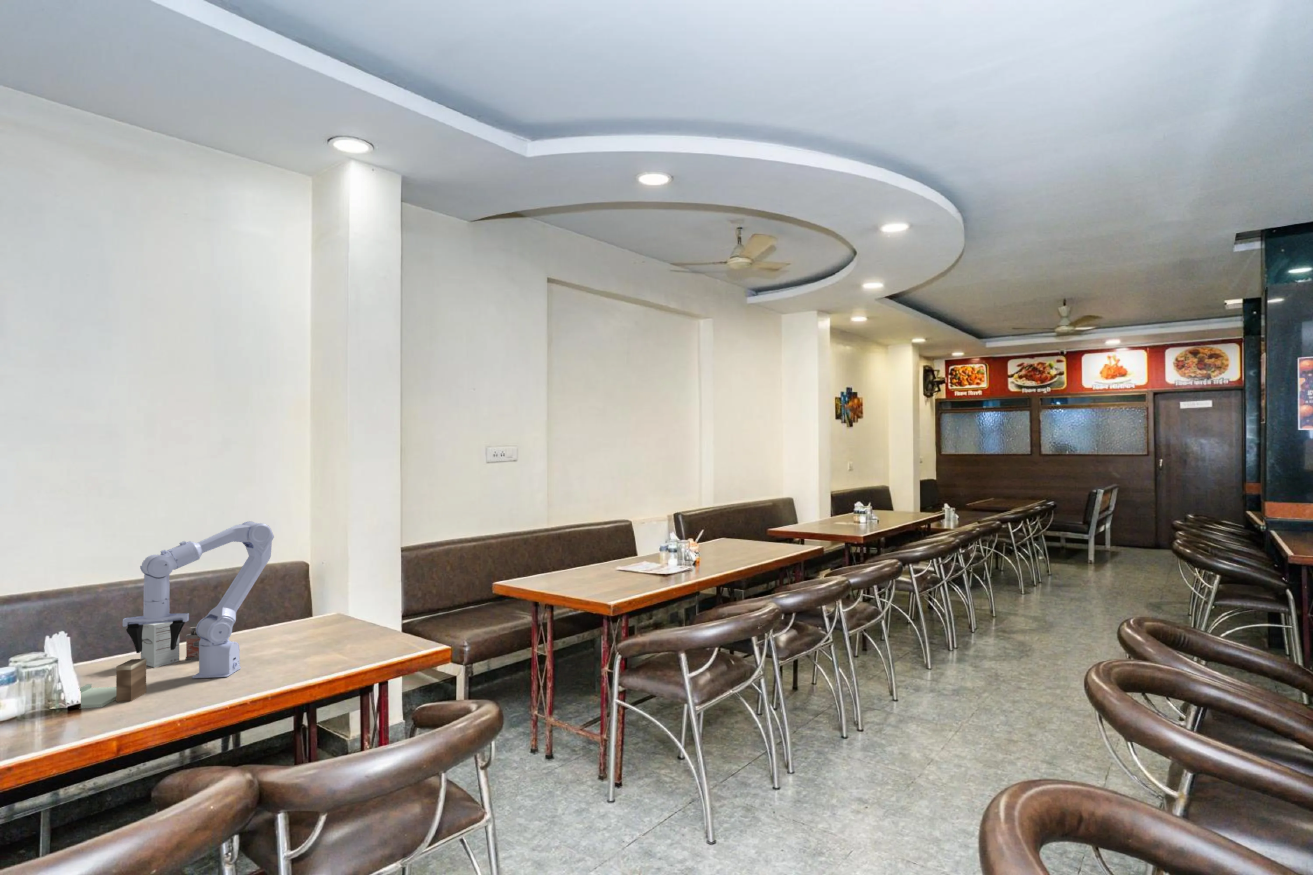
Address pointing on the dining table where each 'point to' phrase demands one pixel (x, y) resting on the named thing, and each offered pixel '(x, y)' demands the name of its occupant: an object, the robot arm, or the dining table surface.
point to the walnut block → (130, 680)
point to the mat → (96, 696)
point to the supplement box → (158, 645)
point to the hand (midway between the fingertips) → (156, 650)
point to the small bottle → (192, 645)
